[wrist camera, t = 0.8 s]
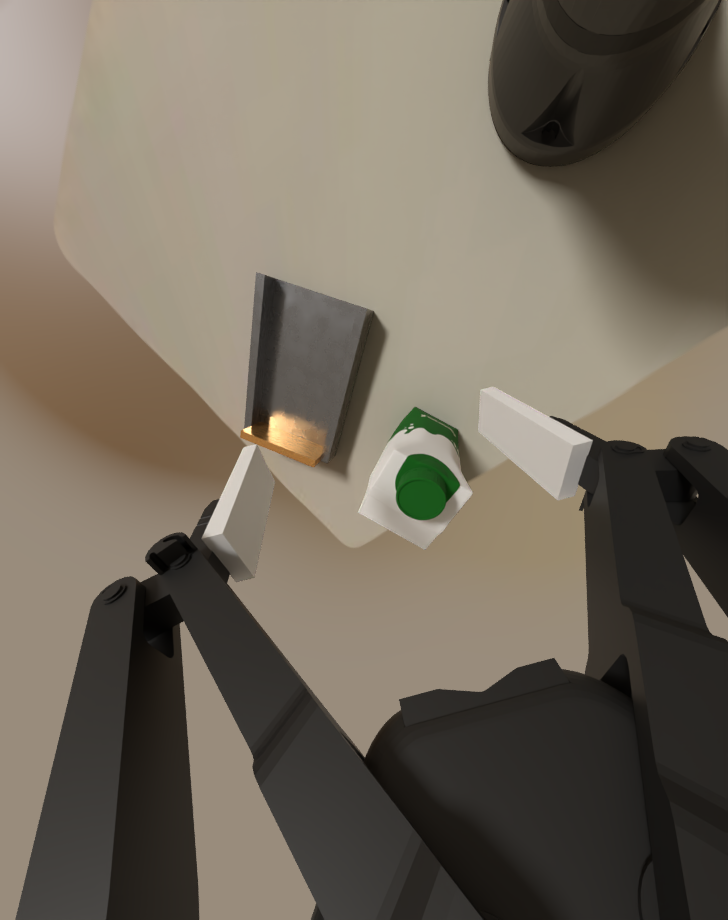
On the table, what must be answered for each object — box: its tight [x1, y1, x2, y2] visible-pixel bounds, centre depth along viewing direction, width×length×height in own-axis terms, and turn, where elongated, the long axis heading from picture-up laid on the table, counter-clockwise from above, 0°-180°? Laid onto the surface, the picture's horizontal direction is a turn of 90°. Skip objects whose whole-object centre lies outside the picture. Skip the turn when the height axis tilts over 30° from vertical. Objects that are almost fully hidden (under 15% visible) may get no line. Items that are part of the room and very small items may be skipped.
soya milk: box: [358, 407, 473, 550], centre depth 31 cm, size 9×9×20 cm
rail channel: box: [240, 272, 374, 467], centre depth 38 cm, size 22×15×6 cm
